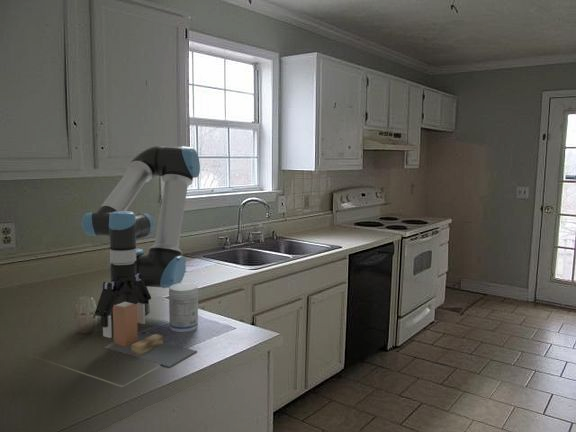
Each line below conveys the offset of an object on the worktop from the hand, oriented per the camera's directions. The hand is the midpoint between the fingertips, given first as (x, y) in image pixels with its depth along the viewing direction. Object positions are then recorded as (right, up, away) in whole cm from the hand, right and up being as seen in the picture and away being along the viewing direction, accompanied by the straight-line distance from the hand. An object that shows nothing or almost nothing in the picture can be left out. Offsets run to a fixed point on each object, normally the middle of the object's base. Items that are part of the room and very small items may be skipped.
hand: (125, 329), depth 149 cm
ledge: (+8, -5, -3) cm, 10 cm away
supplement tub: (+15, -3, +14) cm, 21 cm away
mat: (+9, -5, -4) cm, 11 cm away
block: (0, -4, +1) cm, 4 cm away
